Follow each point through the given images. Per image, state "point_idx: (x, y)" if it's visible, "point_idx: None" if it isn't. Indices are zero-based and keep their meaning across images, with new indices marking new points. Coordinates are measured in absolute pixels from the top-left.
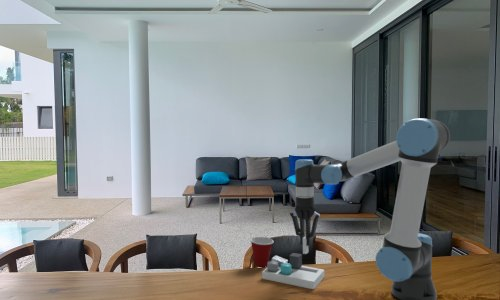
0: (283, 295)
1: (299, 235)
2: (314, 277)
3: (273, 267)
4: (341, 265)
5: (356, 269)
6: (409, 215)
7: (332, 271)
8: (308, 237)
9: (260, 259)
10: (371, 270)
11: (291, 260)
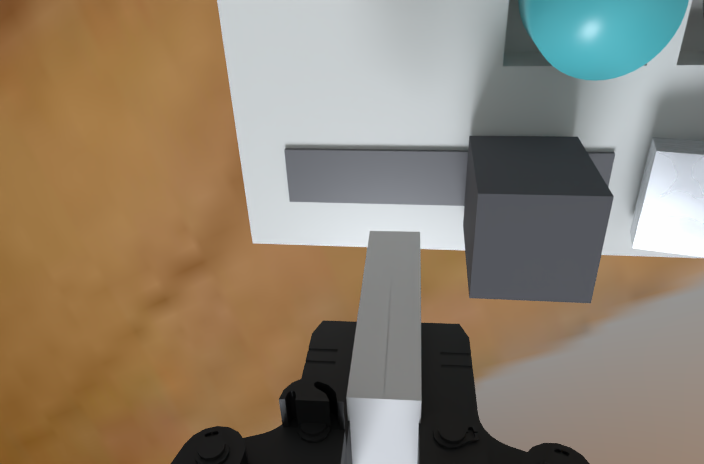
0: None
1: (506, 457)
2: (247, 16)
3: None
4: (253, 432)
5: (146, 406)
6: None
7: (261, 326)
8: (284, 409)
9: None
10: (70, 419)
11: (570, 170)
